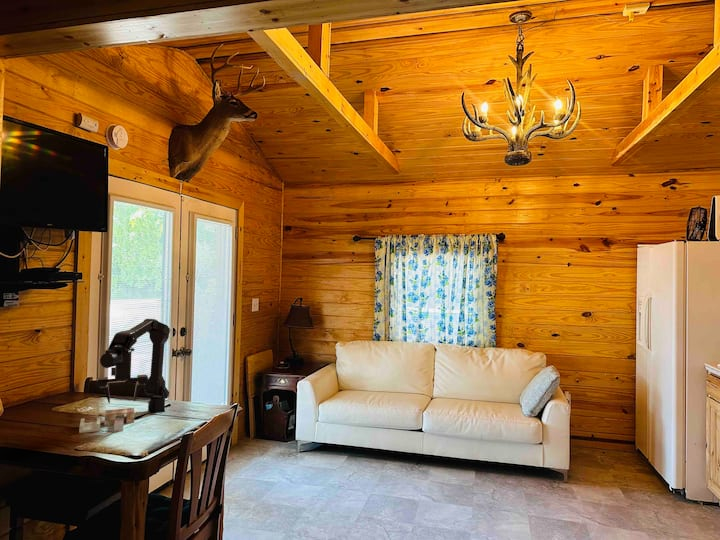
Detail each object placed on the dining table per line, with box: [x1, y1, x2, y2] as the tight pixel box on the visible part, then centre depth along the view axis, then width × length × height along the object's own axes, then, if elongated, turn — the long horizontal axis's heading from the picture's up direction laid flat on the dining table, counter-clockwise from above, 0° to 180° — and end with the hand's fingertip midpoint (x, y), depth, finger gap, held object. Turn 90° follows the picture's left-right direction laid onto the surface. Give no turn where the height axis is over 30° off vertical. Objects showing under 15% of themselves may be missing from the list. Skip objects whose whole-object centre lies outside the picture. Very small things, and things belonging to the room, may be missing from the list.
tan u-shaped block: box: [103, 407, 135, 426], centre depth 200 cm, size 11×6×5 cm, turn 117°
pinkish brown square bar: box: [113, 414, 125, 433], centre depth 197 cm, size 18×3×3 cm, turn 25°
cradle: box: [78, 416, 102, 434], centre depth 191 cm, size 7×10×3 cm
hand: (121, 401), depth 193 cm, fingers open, 9 cm apart
